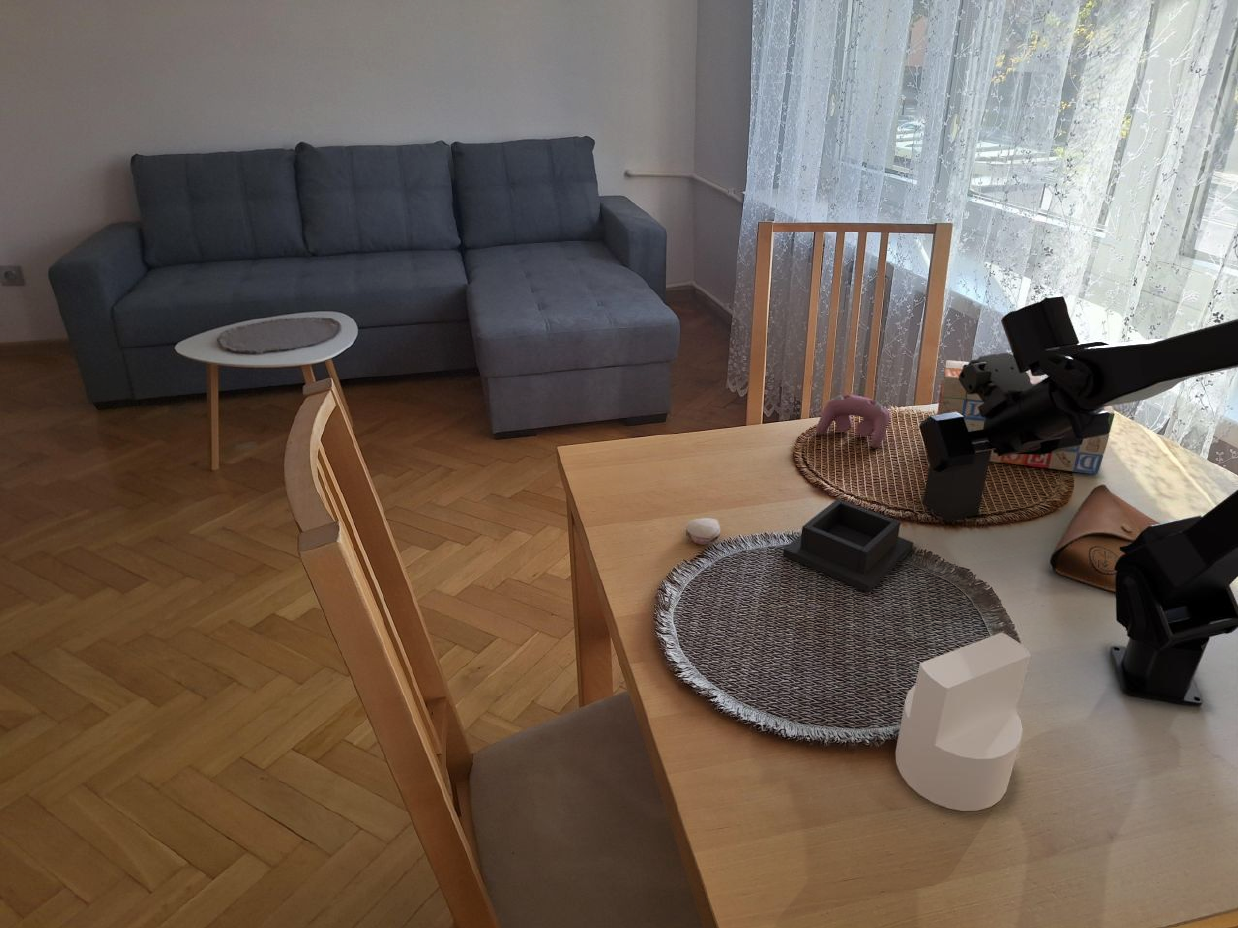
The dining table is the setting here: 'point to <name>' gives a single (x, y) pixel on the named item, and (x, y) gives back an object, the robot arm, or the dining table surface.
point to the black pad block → (957, 488)
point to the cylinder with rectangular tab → (964, 724)
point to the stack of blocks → (1075, 459)
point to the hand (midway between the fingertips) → (961, 454)
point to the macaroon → (703, 530)
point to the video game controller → (857, 406)
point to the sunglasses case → (1098, 539)
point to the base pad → (850, 544)
